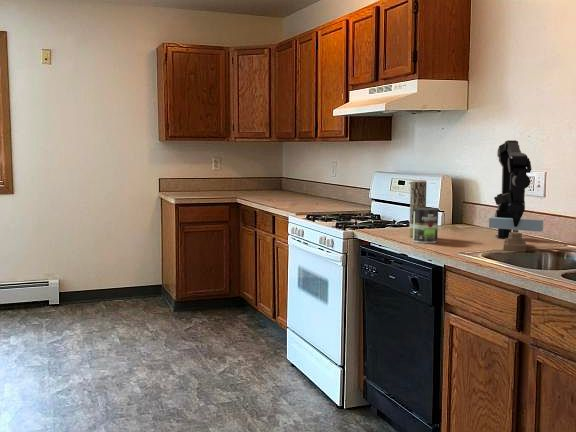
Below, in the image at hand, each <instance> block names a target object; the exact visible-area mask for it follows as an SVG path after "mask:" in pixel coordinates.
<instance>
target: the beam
mask: <svg viewBox="0 0 576 432" xmlns="http://www.w3.org/2000/svg"><path fill="white" fill-rule="evenodd" d="M488 221H489V222H488V228H490V229H498V228H499V229H512V231H513V230H518V231H526V232H527V231H528V232H539V233H541V232H543V231H544V220H543V219H540V220H539V219H524V218H521V219H520V221H519V224H518V226H517V227H514V223H513V218H498V217H495V216H491V217H489V218H488Z"/></svg>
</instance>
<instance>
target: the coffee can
mask: <svg viewBox="0 0 576 432" xmlns="http://www.w3.org/2000/svg"><path fill="white" fill-rule="evenodd" d="M438 224H439V208H438V207H427V206H426V207H417V208H414V223H413V237H412V242H414V243H418V244H436V242H437V243H438V233H439V230H438V229H439V225H438Z"/></svg>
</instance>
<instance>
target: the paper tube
mask: <svg viewBox="0 0 576 432" xmlns="http://www.w3.org/2000/svg"><path fill="white" fill-rule="evenodd" d="M409 189H410V195H409V196H410V197H409V198H410V199H409V237H410V238H413V223H414V208H417V207H427V180H425V179H424V180H423V179H411V180H410V188H409Z"/></svg>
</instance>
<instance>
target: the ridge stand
mask: <svg viewBox="0 0 576 432" xmlns="http://www.w3.org/2000/svg"><path fill="white" fill-rule="evenodd" d="M503 241H504V242H503V251H508V250H509V251H511V252H526V249H527V245H526V244H527V242H526V239H524V238H523V233H522V232H519V230H512V233H509V236H508V238H504V240H503Z"/></svg>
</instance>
